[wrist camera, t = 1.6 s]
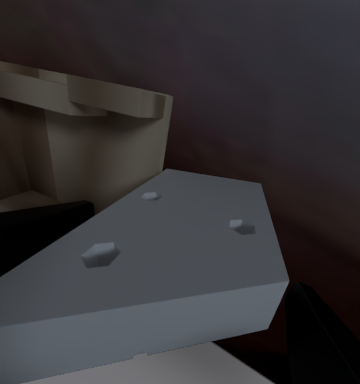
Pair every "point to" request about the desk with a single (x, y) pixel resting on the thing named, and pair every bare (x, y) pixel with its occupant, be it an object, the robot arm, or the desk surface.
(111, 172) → the slotted track
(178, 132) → the desk surface
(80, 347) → the white wedge bracket
